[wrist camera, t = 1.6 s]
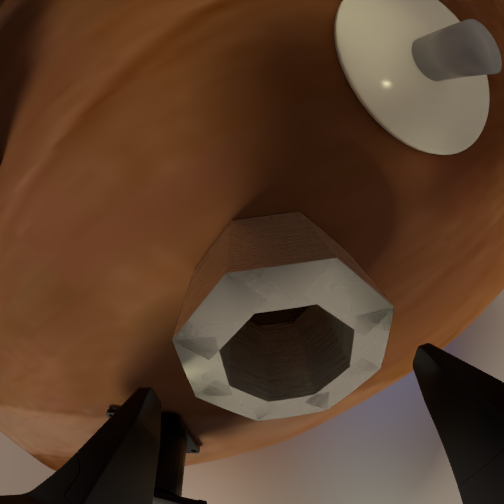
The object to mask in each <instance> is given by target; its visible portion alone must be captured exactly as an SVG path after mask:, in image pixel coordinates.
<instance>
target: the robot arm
mask: <svg viewBox="0 0 504 504" xmlns="http://www.w3.org/2000/svg"><path fill="white" fill-rule="evenodd" d="M413 369H414V372H415V375H416V377H417V380H418V383H419V386H420V389H421V392H422V395H423V398H424V401H425V403H426V406H427V408H428V410H429V413H430V415H431V417H432V419H433V422H434V424H435V426H436V429H437V431H438V434H439V436H440V439H441V441H442V443H443V446H444V448H445V451H446V454H447V456H448V459H449V462H450V465H451V467H452V470H453V473H454V476H455V479H456V482H457V485H458V489H459V492H460V495H461V499H462V502H463V504H504V382H503V383H502V381H500V380H498V379H496V378H494V377H493V376H491V375H489V374H487V373H485V372H483V371H481V370H479V369H477V368H476V367H474V366H472V365H470V364H468V363H466V362H464V361H462V360H460V359H458V358H457V357H454V356H453V355H451V354H449V353H447V352H445V351H443V350H441V349H440V348H438V347H436V346H434V345H432V344H430V343H426V344H423V345H420V346H419V347H418V348H417V351H416V354H415V357H414V360H413ZM106 414H107V416H108V417H109V419H108V421H107V422H106V423H105V424H104V425H103V426H102V427H101V428H100V429H99V430H98V431H97V432H96V433H95V434H94V435H93V436H92V437H91V438H90V439H89V440H88V441H87V442H86V443H85V444H84V445H83V446H82V447H81V448H80V449H79V450H78V453H75V454H74V456H73V457H72V458H71V459H70V460H68V461H67V462H66V463H65V464H64V465H63V466H62V467H61V468H60V469H59V470H58V471H56V472H55V473H54V474H53V475H52V476H50V477H49V478H48V479H46V480H45V481H44V482H43V483H42V484H40V485H39V486H37V487H36V488H35V489H33V490H32V491H30V492H28V493H25V494H21V495H6V496H0V504H207V502H206V501H203V500H193V499H189V498H184V497H181V495H182V484H183V475H184V465H185V456H186V453H199V452H200V447H199V446H198V444H197V443H196V441H195V440H194V438H193V437H192V435H191V434H190V432H189V431H188V429H187V427H186V426H185V424H184V423H183V421H182V419H181V418H180V416H179V415H177V414H172V413H161V403H160V400H159V399H158V397H157V395H156V394H155V392H154V390H153V389H152V388H151V387H140V388H138V389H137V390H136V391H135V392H134V393H133V394H132V395H131V396H130V398H129V399H128V400H127V401H126V402H125V403H124V404H123V405H122V406H121V407H120V408H119V409H118V410H115V409H108V410H107V413H106Z"/></svg>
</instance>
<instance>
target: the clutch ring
mask: <svg viewBox="0 0 504 504" xmlns="http://www.w3.org/2000/svg"><path fill="white" fill-rule="evenodd" d="M303 306H309V307H308V308H307V309H306V310H305V311H304V312H303V313H302V314H301V315H300V316H299V317H298V318H297V319H296V320H295V321H292V322H285V323H278V324H271V325H264V326H259V325H258V324H256V323H254V322H253V321H251V320H249V319H250V318H251V317H252V316H253V315H254V313H262V312H269V311H277V310H284V309H290V308H297V307H303ZM393 310H394V306H393V305H392V304H391V303H390V301H389V300H388V299H387V298H386V296H385V295H384V294H383V293H382V292H381V290H380V289H379V288H378V287H377V286H376V284H375V283H374V282H373V281H372V280H371V278H370V277H369V276H368V275H367V274H366V273H365V271H364V270H363V269H362V268H361V267H360V266H359V265H358V263H357V262H356V261H355V260H354V259H353V258H352V257H351V255H350V254H349V253H348V252H347V251H346V250H345V249H344V248H343V247H342V246H340V245H339V244H338V243H337V242H336V241H335V240H333V239H332V238H331V237H330V236H329V235H327V234H326V233H325V232H324V231H323V230H322V229H320V228H319V227H318V226H317V225H316V224H314V223H313V222H312V221H311V220H309V219H308V218H307V217H306V216H305V215H303V214H302V213H301V212H292V213H284V214H276V215H268V216H260V217H253V218H245V219H238V220H231V222H230V223H229V224H228V226H227V227H226V228H225V230H224V231H223V232H222V234H221V235H220V236H219V237H218V239H217V240H216V241H215V243H214V244H213V245H212V247H211V248H210V249H209V251H208V252H207V253H206V255H205V256H204V257H203V259H202V260H201V261H200V263H199V264H198V265H197V267H196V268H195V270H194V272H193V275H192V278H191V281H190V284H189V287H188V290H187V293H186V296H185V299H184V302H183V305H182V309H181V312H180V315H179V318H178V322H177V325H176V328H175V331H174V335H173V338H172V341H173V344H174V346H175V349H176V351H177V354H178V356H179V359H180V361H181V364H182V366H183V369H184V371H185V373H186V376H187V378H188V380H189V382H190V385H191V387H192V389H193V391H194V394H195V396H196V397H198V398H200V399H202V400H204V401H207V402H209V403H211V404H214V405H216V406H219V407H221V408H224V409H226V410H229V411H231V412H234V413H237V414H239V415H242V416H245V417H248V418H251V419H254V420H257V421H261V420H270V419H278V418H285V417H291V416H298V415H304V414H309V413H314V412H320V411H324V410H328V409H329V408H330V407H332V406H333V405H335V404H336V403H337V402H339V401H340V400H342V399H343V398H344V397H346V396H347V395H348V394H350V393H351V392H352V391H354V390H355V389H356V388H357V387H359V386H360V385H361V384H362V383H364V382H365V381H366V380H367V379H369V378H370V377H371V376H372V375H373V374H375V373H376V372H377V371H378V370H379V369H381V365H382V361H383V357H384V353H385V349H386V345H387V340H388V336H389V331H390V326H391V321H392V316H393Z"/></svg>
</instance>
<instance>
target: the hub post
mask: <svg viewBox="0 0 504 504" xmlns="http://www.w3.org/2000/svg"><path fill="white" fill-rule="evenodd" d="M334 41H335V48H336V52H337V55H338V59H339V62H340V65H341V67H342V70H343V73H344V75H345V77H346V79H347V81H348V83H349V85H350V87H351V88H352V90H353V92H354V93H355V95H356V97H357V98H358V100H359V101H360V102H361V104H362V105H363V106H364V108H365V109H366V111H367V112H368V113H369V114H370V115H371V116H372V117H373V118H374V120H375V121H376V122H377V123H378V124H379V125H380V126H381V127H382V128H384V129H385V130H386V131H387V132H388V133H389V134H391V135H392V136H393V137H395V138H396V139H397V140H399V141H401V142H402V143H404V144H405V145H407V146H410V147H412V148H414V149H416V150H419V151H423V152H426V153H432V154H439V155H451V154H455V153H459V152H461V151H463V150H465V149H467V148H468V147H470V146H471V145H472V144H473V143H474V142H475V141H476V140H477V139H478V137H479V136H480V134H481V133H482V130H483V128H484V126H485V123H486V120H487V116H488V111H489V99H490V98H489V85H488V78H487V75H488V74H497V73H499V72H500V70H501V67H502V60H501V55H500V51H499V48H498V46H497V44H496V42H495V40H494V38H493V37H492V35H491V34H490V32H489V31H488V30H487V29H486V28H485V27H484V26H483V25H482V24H481V23H480V22H478V21H477V20H474V19H467V20H464V21H461V22H460V21H459V20H458V19H457V17H456V16H455V15H454V14H453V13H452V12H451V11H450V10H449V9H448V8H447V7H446V6H444V5H443V4H442V3H441V2H440V1H438V0H342V2H341V4H340V5H339V7H338V10H337V12H336V15H335V21H334Z"/></svg>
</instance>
